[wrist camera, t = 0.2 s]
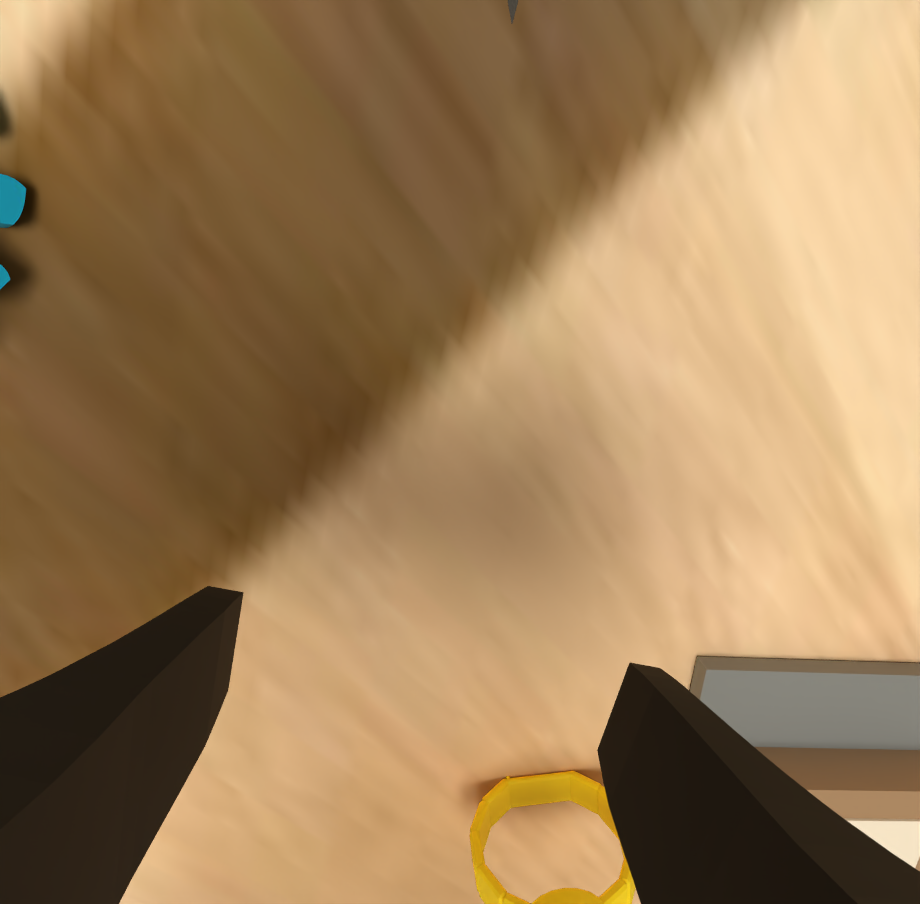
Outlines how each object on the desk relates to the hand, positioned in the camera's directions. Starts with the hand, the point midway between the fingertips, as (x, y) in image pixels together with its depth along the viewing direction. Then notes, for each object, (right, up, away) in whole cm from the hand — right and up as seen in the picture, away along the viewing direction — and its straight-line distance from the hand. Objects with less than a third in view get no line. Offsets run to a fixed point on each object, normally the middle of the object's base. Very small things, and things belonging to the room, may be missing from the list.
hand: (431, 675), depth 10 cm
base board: (+15, -10, +14) cm, 23 cm away
